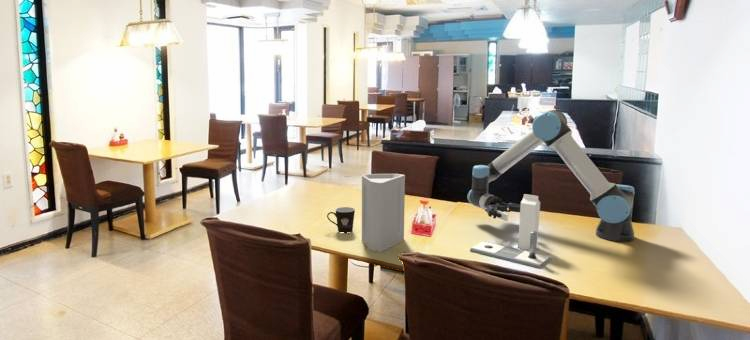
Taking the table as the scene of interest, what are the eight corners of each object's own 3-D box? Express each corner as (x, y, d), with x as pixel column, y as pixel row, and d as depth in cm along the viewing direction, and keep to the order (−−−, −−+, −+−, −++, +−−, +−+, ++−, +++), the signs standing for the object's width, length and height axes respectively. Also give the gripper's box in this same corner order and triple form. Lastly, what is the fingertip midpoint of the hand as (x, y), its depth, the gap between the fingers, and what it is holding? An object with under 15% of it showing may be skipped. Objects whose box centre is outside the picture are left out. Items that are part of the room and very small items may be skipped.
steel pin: (536, 257, 188) (538, 231, 186) (534, 258, 186) (535, 233, 184) (530, 255, 190) (532, 230, 188) (527, 257, 188) (529, 232, 186)
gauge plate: (550, 258, 190) (551, 255, 190) (539, 268, 181) (539, 264, 180) (483, 243, 207) (484, 240, 207) (470, 251, 198) (470, 247, 198)
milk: (523, 244, 207) (526, 192, 203) (537, 247, 203) (541, 194, 199) (517, 247, 202) (520, 195, 198) (532, 251, 198) (535, 197, 194)
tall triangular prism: (375, 233, 220) (375, 171, 214) (404, 239, 212) (405, 174, 206) (350, 245, 204) (349, 178, 199) (380, 252, 196) (381, 183, 191)
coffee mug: (358, 229, 224) (358, 208, 222) (349, 235, 217) (349, 213, 215) (335, 226, 229) (335, 205, 227) (326, 231, 221) (325, 209, 219)
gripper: (513, 209, 229) (544, 221, 210) (467, 214, 220) (494, 228, 201) (514, 193, 228) (546, 204, 208) (467, 198, 219) (495, 210, 199)
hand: (520, 216), depth 204 cm, fingers open, 13 cm apart
